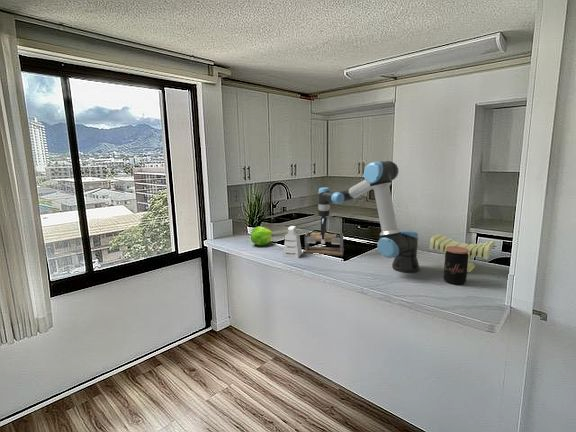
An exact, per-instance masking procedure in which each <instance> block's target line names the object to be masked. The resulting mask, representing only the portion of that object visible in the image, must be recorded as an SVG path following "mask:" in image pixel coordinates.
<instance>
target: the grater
mask: <svg viewBox="0 0 576 432" xmlns="http://www.w3.org/2000/svg"><path fill="white" fill-rule="evenodd" d="M302 254H303V251H302V244H301V237H300V232H299V231H297V226H296V225H290V226H288V228H287V232H286V233H285V236H284V245H283V255H282V258H288V257H289V259H290V258H291V259H292V258H293V259H299V258H300V256H301V255H302Z"/></svg>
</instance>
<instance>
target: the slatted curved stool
mask: <svg viewBox="0 0 576 432" xmlns="http://www.w3.org/2000/svg"><path fill="white" fill-rule="evenodd" d="M495 241H496V240H495V239H494V240H491V241H490V242H489V241H487V242H484V243H483V242H481V243H473V244H472V243H470V244H469V243H464V242H459V241H457V240H453V239H452V238H450V237H448V236H446V235H443V233H442V232H440V231H439V232H438V233H436V234H434V235H433V236H431V238H430V241H429V250H437V251H438V250H439V252H441V253H442V254H443V253H444V257H445V253H446V247H449V246H458V247H463V248H466V249H468V250H469V252H468V253H467V254H468V266H467V273H471V271H473V270H474V269H475V268H476V266H475V262H474V263H473V262H470V261H471V260H472V258H476V257H477V258H482V259H484V260H489V258H490V253H491V251H492V248H493V247H494V246H495V244H496V243H495Z"/></svg>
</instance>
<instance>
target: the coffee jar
mask: <svg viewBox="0 0 576 432" xmlns="http://www.w3.org/2000/svg"><path fill="white" fill-rule="evenodd" d="M468 252H469V250H468V249H466V248H463V247H458V246H449V247H446V253H445V256H444V267H443V279H444V282H446V283H447V284H450V285H453V286H463V285H465V283H467V277H468V276H467V275H468V274H467V273H468V272H467V266H468V254H467V253H468Z"/></svg>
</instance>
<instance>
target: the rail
mask: <svg viewBox="0 0 576 432" xmlns="http://www.w3.org/2000/svg"><path fill="white" fill-rule="evenodd" d="M310 234H311V237H316V242H321V235H320V234H321V232H311V233H310ZM337 235H338V234H337V233H328V232H327V233H326V232H325V243H326V242H328V243H331V237H334V238H337Z"/></svg>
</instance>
